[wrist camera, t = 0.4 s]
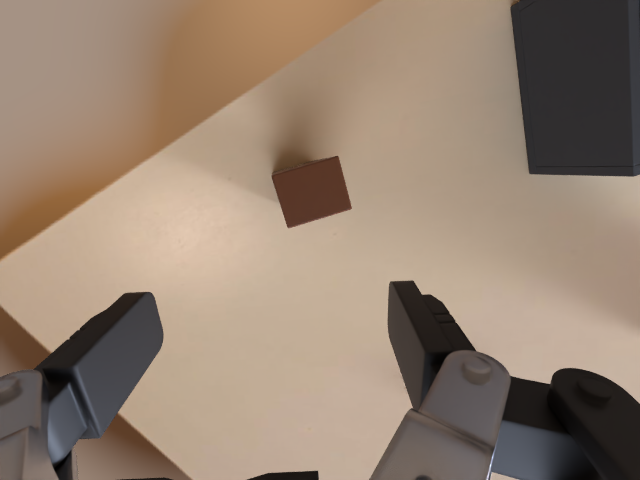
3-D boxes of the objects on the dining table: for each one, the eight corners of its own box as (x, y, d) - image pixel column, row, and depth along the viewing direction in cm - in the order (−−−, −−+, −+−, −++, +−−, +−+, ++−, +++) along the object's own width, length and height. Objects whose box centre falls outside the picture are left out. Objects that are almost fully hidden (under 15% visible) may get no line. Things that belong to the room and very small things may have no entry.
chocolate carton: (272, 172, 30) (271, 175, 18) (313, 160, 30) (338, 155, 18) (282, 205, 30) (287, 228, 19) (323, 193, 31) (352, 209, 19)
